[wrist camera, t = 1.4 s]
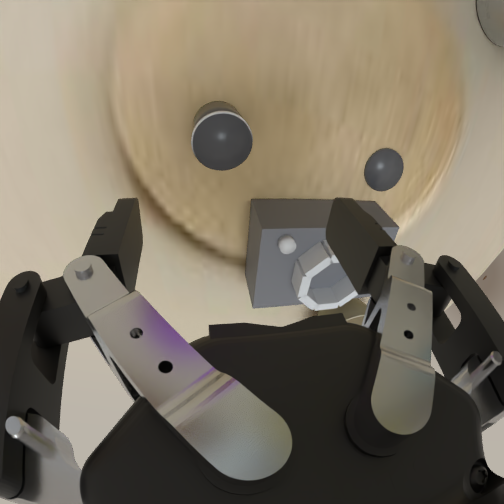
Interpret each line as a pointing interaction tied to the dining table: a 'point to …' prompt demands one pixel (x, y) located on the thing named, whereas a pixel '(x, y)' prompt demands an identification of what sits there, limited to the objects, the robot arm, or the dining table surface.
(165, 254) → the dining table surface
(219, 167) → the lens
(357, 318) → the flower pot
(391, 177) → the grey dome
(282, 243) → the camera body
